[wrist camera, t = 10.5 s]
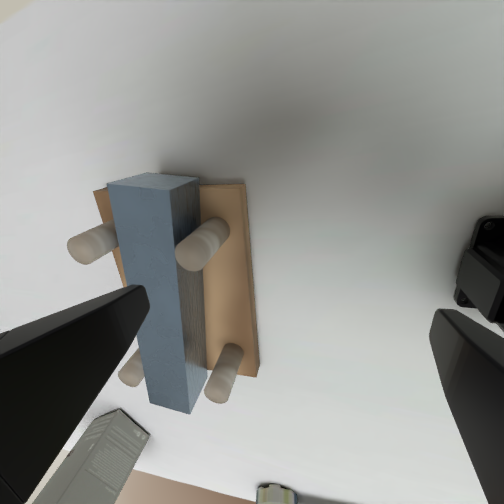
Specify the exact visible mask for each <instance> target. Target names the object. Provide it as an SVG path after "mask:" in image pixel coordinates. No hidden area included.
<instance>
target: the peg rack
mask: <svg viewBox="0 0 504 504" xmlns="http://www.w3.org/2000/svg"><path fill="white" fill-rule="evenodd" d="M199 189H200V212H201V226H199V227H198V228H197V229H196V230H195V231H193V232H192V233H191V234H190V235H189V236H187V237H186V238H185V239H184V240H182V241H181V242H180V243H179V244H178V245H177V246H176V248H175V257H176V260H177V262H178V263H179V264H180V265H181V266H182V267H183V268H184V269H186V270H189V271H199V270H201V269H202V268H203V284H204V307H205V331H206V355H207V370H213V371H212V374H211V376H210V378H209V380H208V382H207V385H206V387H205V389H204V394H205V396H206V397H207V398H208V399H209V400H211V401H213V402H215V403H220V404H222V403H225V402H227V401H228V398H229V395H230V392H231V389H232V387H233V384H234V381H235V378H236V375H237V374H238V375H244V376H250V377H257V373H258V369H259V366H260V363H259V350H258V338H257V325H256V312H255V300H254V287H253V274H252V262H251V249H250V236H249V224H248V211H247V198H246V186H245V184H222V185H199ZM93 193H94V196H95V199H96V202H97V206H98V209H99V212H100V215H101V218H102V221H103V224H101V225H99V226H97V227H95V228H92V229H90V230H88V231H86V232H83V233H81V234H79V235H77V236H74V237H72V238H70V239H69V240H68V242H67V248H68V251H69V253H70V255H71V256H72V257H73V258H74V259H75V260H76V261H77V262H79V263H81V264H85V265H87V264H90V263H92V262H94V261H95V260H97V259H99V258H100V257H102V256H104V255H105V254H107V253H109V252H110V251H112V252H113V255H114V258H115V262H116V265H117V268H118V271H119V274H120V277H121V280H122V283H123V286H124V287H126V286H127V284H126V279H125V274H124V269H123V264H122V259H121V254H120V249H119V243H118V238H117V233H116V228H115V223H114V218H113V213H112V208H111V203H110V198H109V193H108V188H107V187H106V188H103V189H100V190H96V191H93ZM118 377H119V379H120V380H121V381H122V382H123V383H124V384H126V385H128V386H131V387H136V386H138V385H139V383H140V382H141V381H142V379H143V378H144V370H143V365H142V360H141V355H140V350H139V348H138V349H137V350H136V352H135V353H134V354H133V355H132V357H131V358H130V359H129V360H128V361H127V363H126V364H125V365H124V366H123V367H122V369H121V370H120V371H119V372H118Z"/></svg>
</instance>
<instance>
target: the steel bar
mask: <svg viewBox="0 0 504 504" xmlns="http://www.w3.org/2000/svg"><path fill="white" fill-rule="evenodd" d="M107 188H108V193H109V198H110V203H111V208H112V213H113V218H114V223H115V228H116V233H117V238H118V243H119V249H120V254H121V259H122V264H123V269H124V274H125V279H126V284H127V286H129V285H132V284H135V285H143V286H144V287H145V289H146V292H147V296H148V299H149V303H150V310H149V312H148V314H147V316H146V318H145V320H144V322H143V324H142V325H141V327H140V329H139V331H138V333H137V340H138V345H139V350H140V355H141V360H142V365H143V370H144V376H145V381H146V386H147V391H148V396H149V401H150V403H152V404H155V405H159V406H162V407H166V408H169V409H173V410H176V411H180V412H183V413H186V414H191V412H192V409H193V407H194V405H195V403H196V401H197V399H198V396H199V394H200V392H201V390H202V388H203V386H204V383H205V381H206V379H207V355H206V331H205V307H204V284H203V268H202V269H201V270H199V271H189V270H186V269H184V268H183V267H182V266H181V265H180V264H179V263H178V262H177V260H176V257H175V248H176V246H177V245H178V244H179V243H180V242H181V241H182V240H184V239H185V238H186V237H187V236H189V235H190V234H191V233H192V232H193V231H195V230H196V229H197V228H198V227H199V226H201V212H200V189H199V178H197V177H187V176H177V175H167V174H157V173H143V174H140V175H136V176H132V177H129V178H125V179H121V180H118V181H114V182H110V183H107Z"/></svg>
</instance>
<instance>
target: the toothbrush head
mask: <svg viewBox="0 0 504 504" xmlns="http://www.w3.org/2000/svg"><path fill="white" fill-rule="evenodd" d="M256 504H298V501H297V494H295V493H294V492H293V491H292V490H291V489H288V490H287V489H283V488H281V486H280V485H277V484H269V487H268V488H263V487H260V488H259V489H258V490H257V496H256Z"/></svg>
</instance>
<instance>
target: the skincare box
mask: <svg viewBox="0 0 504 504" xmlns="http://www.w3.org/2000/svg"><path fill="white" fill-rule="evenodd" d="M148 439H149V435H148V434H147V433H146V432H144V431H143V430H142V429H141V428H140V427H138V426H137V425H136V424H135V423H134V422H132V421H131V420H130V419H129V418H128V417H127V416H126V415H125V414H124V413H123V412H122V411H121V410H120V409H119V410H117V411H115V412H113V413H110V414H107V415H105V416H102V417H100V418H98V419H96V420H93V421H92V423H91V424H90V425H89V427H88V428H87V429H86V431H85V432H84V433H83V435H82V436H81V438H80V439H79V440H78V442H77V443H76V444H75V446H74V447H73V449H72V450H71V451H70V453H69V454H68V455H67V457H66V458H65V460H64V461H63V462H62V464H61V465H60V466H59V468H58V469H57V471H56V472H55V473H54V474H53V476H52V477H51V479H50V480H49V481H48V483H47V484H46V485H45V487H44V488H43V490H42V491H41V492H40V493H39V495H38V496H37V498H36V499H35V500H34V502H33V503H32V504H114V503H115V501H116V500H117V498H118V496H119V494H120V492H121V490H122V488H123V486H124V484H125V482H126V481H127V479H128V477H129V475H130V473H131V471H132V469H133V467H134V465H135V463H136V461H137V460H138V458H139V456H140V454H141V452H142V450H143V448H144V446H145V445H146V443H147V441H148Z"/></svg>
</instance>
